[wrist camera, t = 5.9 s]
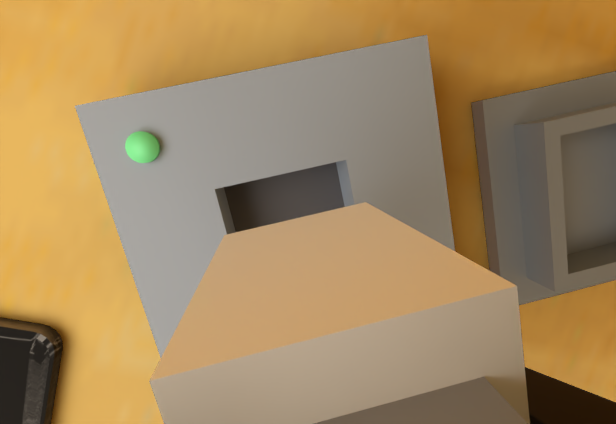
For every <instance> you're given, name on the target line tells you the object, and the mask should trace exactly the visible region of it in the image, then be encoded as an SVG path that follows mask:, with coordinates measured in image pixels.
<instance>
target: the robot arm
mask: <svg viewBox="0 0 616 424" xmlns="http://www.w3.org/2000/svg"><path fill="white" fill-rule="evenodd" d="M525 376H526V387H527V397H528V408H529V418H530V424H616V402H613V401H610V400H608V399H605V398H603V397H600V396H598V395H595V394H593V393H590V392H587V391H585V390H582V389H580V388H577V387H575V386H572V385H569V384H567V383H564V382H562V381H559V380H557V379H554V378H551V377H549V376H546V375H544V374H541V373H539V372H536V371H533V370H531V369H528V368H526V367H525Z"/></svg>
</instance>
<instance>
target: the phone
mask: <svg viewBox="0 0 616 424" xmlns="http://www.w3.org/2000/svg"><path fill="white" fill-rule="evenodd" d="M62 348H63V343H62V339H61V337H60V335H59V334H58V332H57V331H56V330H54V329H53V328H51V327H50V326H46V325H43V324H38V323H32V322H25V321H19V320H13V319H7V318H1V317H0V424H51V419H52V412H53V406H54V399H55V393H56V387H57V380H58V374H59V368H60V361H61V355H62Z"/></svg>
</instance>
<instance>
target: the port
mask: <svg viewBox="0 0 616 424" xmlns="http://www.w3.org/2000/svg"><path fill="white" fill-rule="evenodd" d="M75 108H76V111H77V114H78V116H79V119H80V122H81V125H82V128H83V131H84V134H85V137H86V140H87V143H88V146H89V149H90V152H91V155H92V158H93V160H94V163H95V166H96V169H97V172H98V175H99V178H100V181H101V184H102V187H103V190H104V193H105V196H106V199H107V202H108V205H109V207H110V210H111V213H112V216H113V219H114V222H115V225H116V228H117V231H118V234H119V237H120V240H121V243H122V246H123V249H124V251H125V254H126V257H127V260H128V263H129V266H130V269H131V272H132V275H133V278H134V281H135V284H136V287H137V290H138V293H139V295H140V298H141V301H142V304H143V307H144V310H145V313H146V316H147V319H148V322H149V325H150V328H151V331H152V334H153V337H154V339H155V342H156V345H157V348H158V351H159V354H160V357H162V355H163V353H164V351H165V349H166V347H167V346H168V344H169V342H170V340H171V338H172V336H173V334H174V332H175V330H176V328H177V326H178V324H179V322H180V320H181V318H182V316H183V314H184V312H185V311H186V309H187V307H188V305H189V303H190V301H191V299H192V297H193V295H194V293H195V291H196V289H197V287H198V285H199V283H200V281H201V279H202V277H203V276H204V274H205V272H206V270H207V268H208V266H209V264H210V262H211V260H212V258H213V256H214V254H215V252H216V250H217V248H218V246H219V244H220V242H221V241H222V239H223V237H224V235H227V234H231V233H235V232H240V231H244V230H248V229H252V228H257V227H261V226H265V225H270V224H274V223H278V222H283V221H287V220H291V219H295V218H300V217H304V216H308V215H313V214H317V213H321V212H325V211H330V210H334V209H338V208H343V207H347V206H351V205H356V204H360V203H364V202H366V203H368V204H370V205H372V206H374V207H375V208H377V209H379V210H381V211H383V212H384V213H386V214H388V215H390V216H392V217H394V218H395V219H397V220H399V221H401V222H403V223H404V224H406V225H408V226H410V227H412V228H413V229H415V230H417V231H419V232H421V233H422V234H424V235H426V236H428V237H430V238H431V239H433V240H435V241H437V242H439V243H440V244H442V245H444V246H446V247H448V248H450V249H451V250H453V251H455V246H454V239H453V231H452V223H451V216H450V208H449V200H448V192H447V185H446V177H445V169H444V162H443V154H442V146H441V138H440V131H439V123H438V115H437V108H436V100H435V92H434V84H433V77H432V69H431V61H430V54H429V46H428V38H427V35H424V36H419V37H414V38H409V39H404V40H399V41H394V42H389V43H384V44H379V45H374V46H369V47H364V48H359V49H354V50H349V51H344V52H339V53H334V54H330V55H325V56H320V57H315V58H310V59H305V60H300V61H295V62H290V63H285V64H280V65H275V66H270V67H265V68H260V69H255V70H250V71H245V72H240V73H235V74H231V75H226V76H221V77H216V78H211V79H206V80H201V81H196V82H191V83H186V84H181V85H176V86H171V87H166V88H161V89H156V90H151V91H146V92H141V93H136V94H131V95H127V96H122V97H117V98H112V99H107V100H102V101H97V102H92V103H87V104H82V105H77V106H75Z"/></svg>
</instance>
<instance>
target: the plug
mask: <svg viewBox="0 0 616 424" xmlns="http://www.w3.org/2000/svg"><path fill="white" fill-rule="evenodd" d="M149 382H150V384H151V387H152V390H153V393H154V396H155V399H156V402H157V404H158V407H159V410H160V413H161V416H162V419H163V422H164V424H530V418H529V408H528V397H527V387H526V376H525V365H524V355H523V344H522V334H521V323H520V312H519V302H518V291H517V286H516V285H515V284H513V283H511V282H509V281H507V280H506V279H504V278H502V277H500V276H498V275H496V274H495V273H493V272H491V271H489V270H487V269H486V268H484V267H482V266H480V265H478V264H477V263H475V262H473V261H471V260H469V259H468V258H466V257H464V256H462V255H460V254H459V253H457V252H455V251H453V250H451V249H450V248H448V247H446V246H444V245H442V244H440V243H439V242H437V241H435V240H433V239H431V238H430V237H428V236H426V235H424V234H422V233H421V232H419V231H417V230H415V229H413V228H412V227H410V226H408V225H406V224H404V223H403V222H401V221H399V220H397V219H395V218H394V217H392V216H390V215H388V214H386V213H384V212H383V211H381V210H379V209H377V208H375V207H374V206H372V205H370V204H368V203H366V202H364V203H360V204H356V205H351V206H347V207H343V208H338V209H334V210H330V211H325V212H321V213H317V214H313V215H308V216H304V217H300V218H295V219H291V220H287V221H283V222H278V223H274V224H270V225H265V226H261V227H257V228H252V229H248V230H244V231H240V232H235V233H231V234H227V235H224V237H223V239H222V241H221V242H220V244H219V246H218V248H217V250H216V252H215V254H214V256H213V258H212V260H211V262H210V264H209V266H208V268H207V270H206V272H205V274H204V276H203V277H202V279H201V281H200V283H199V285H198V287H197V289H196V291H195V293H194V295H193V297H192V299H191V301H190V303H189V305H188V307H187V309H186V311H185V312H184V314H183V316H182V318H181V320H180V322H179V324H178V326H177V328H176V330H175V332H174V334H173V336H172V338H171V340H170V342H169V344H168V346H167V347H166V349H165V351H164V353H163V355H162V357H161V359H160V361H159V363H158V365H157V367H156V369H155V371H154V373H153V375H152V377H151V379H150V381H149Z"/></svg>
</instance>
